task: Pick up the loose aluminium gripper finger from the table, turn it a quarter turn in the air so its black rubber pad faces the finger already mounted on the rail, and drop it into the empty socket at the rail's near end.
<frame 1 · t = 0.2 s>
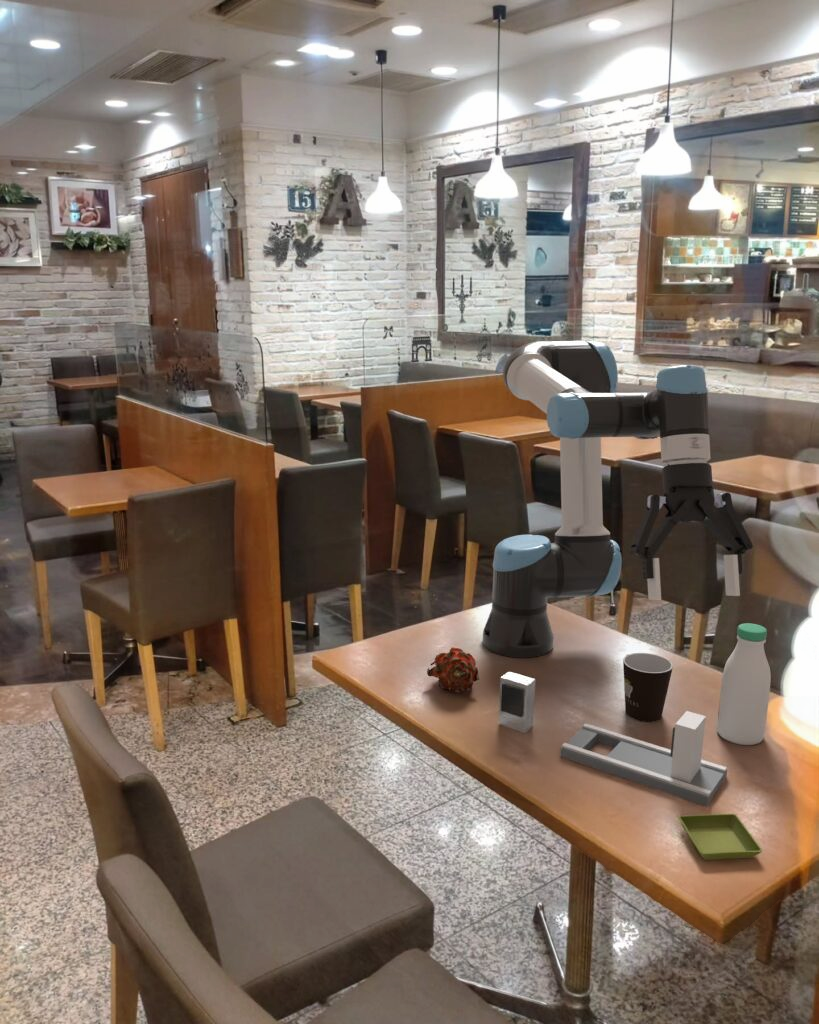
hand: (694, 598, 138), 28 cm above the table, tool tilted 20°, fingers open, 13 cm apart
coffee mug: (642, 710, 160), on the table
green square tray: (717, 847, 122), on the table
dragon fruit: (452, 688, 168), on the table
milk bottle: (739, 736, 152), on the table
rail: (641, 766, 141), on the table
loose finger: (515, 725, 154), on the table
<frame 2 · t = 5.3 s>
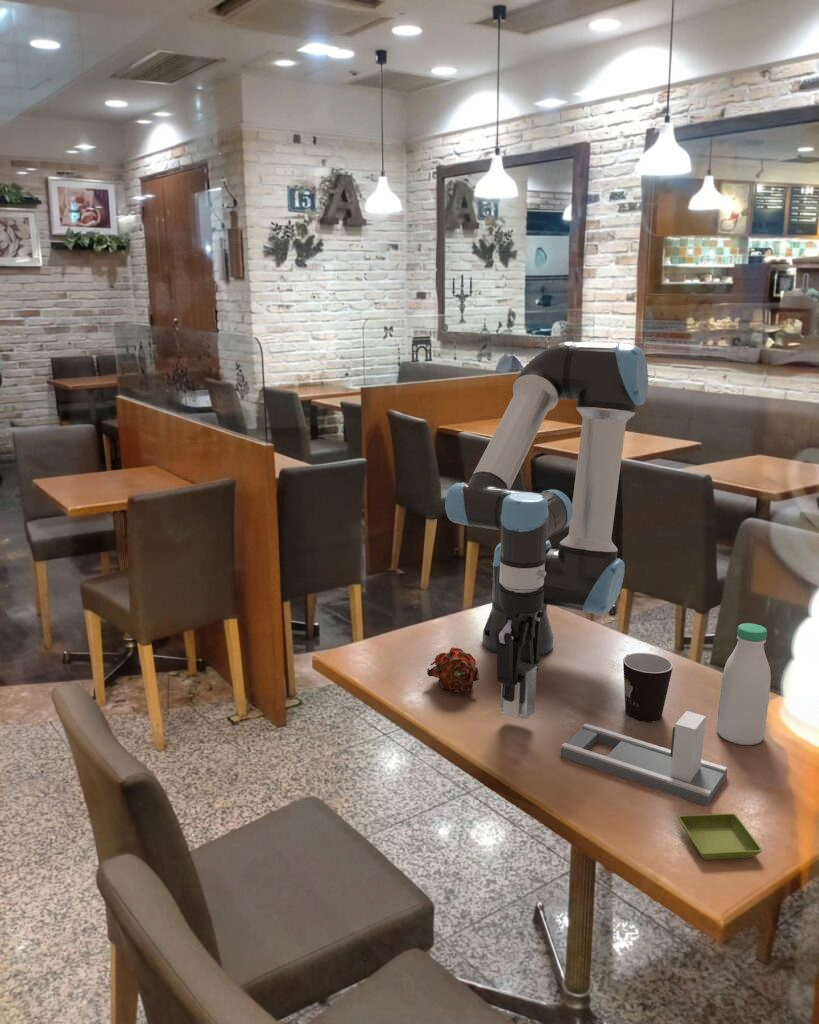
hand: (516, 710, 154), 3 cm above the table, tool pointing down, fingers closed on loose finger, 3 cm apart
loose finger: (517, 711, 154), point 2 cm above the table, touching gripper
everything else where it was.
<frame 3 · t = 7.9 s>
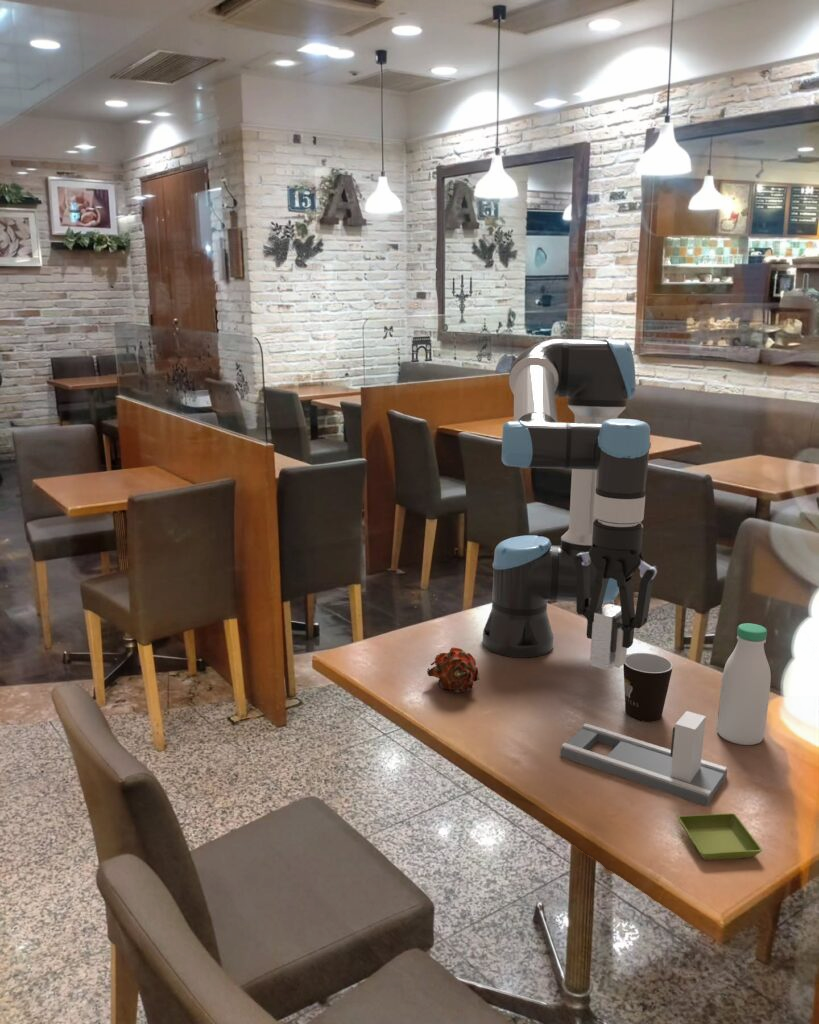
hand: (607, 661, 141), 17 cm above the table, tool pointing down, fingers closed on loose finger, 3 cm apart
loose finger: (606, 662, 141), point 16 cm above the table, touching gripper
everything else where it was.
when the fingers open (3 cm above the table, at t = 10.9 s): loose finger drops 3 cm, resting in rail.
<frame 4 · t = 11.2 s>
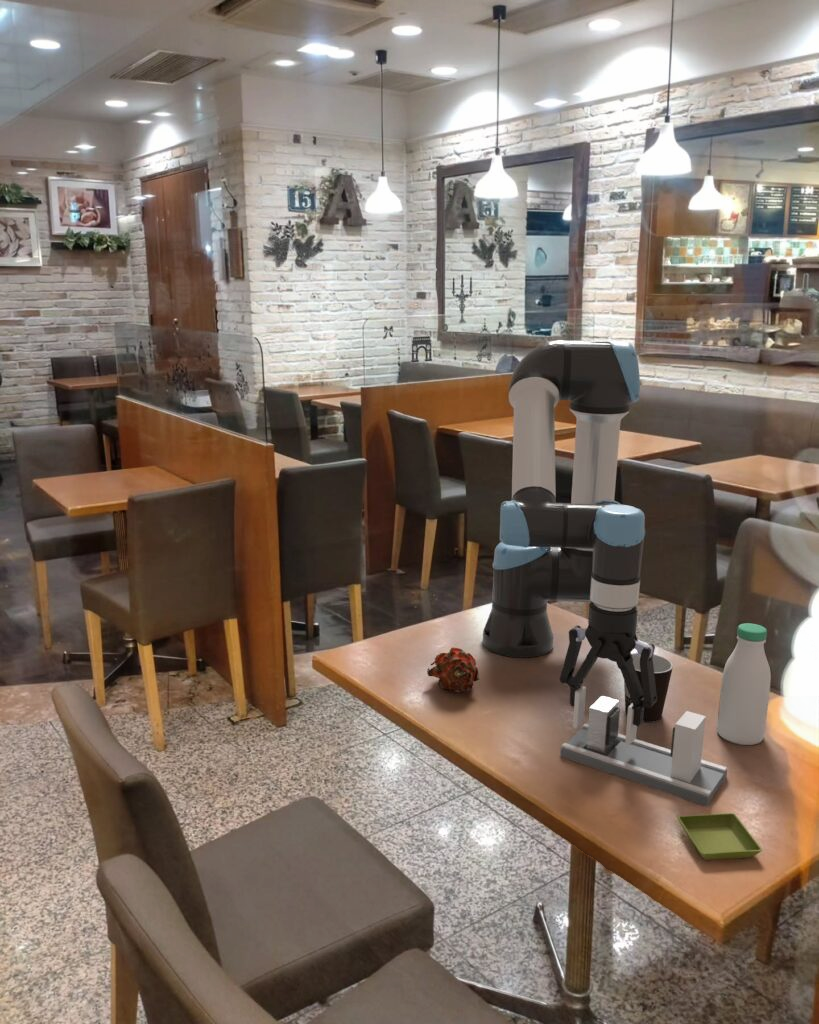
hand: (603, 732, 144), 4 cm above the table, tool pointing down, fingers open, 8 cm apart
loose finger: (600, 753, 145), resting in rail
everything else where it was.
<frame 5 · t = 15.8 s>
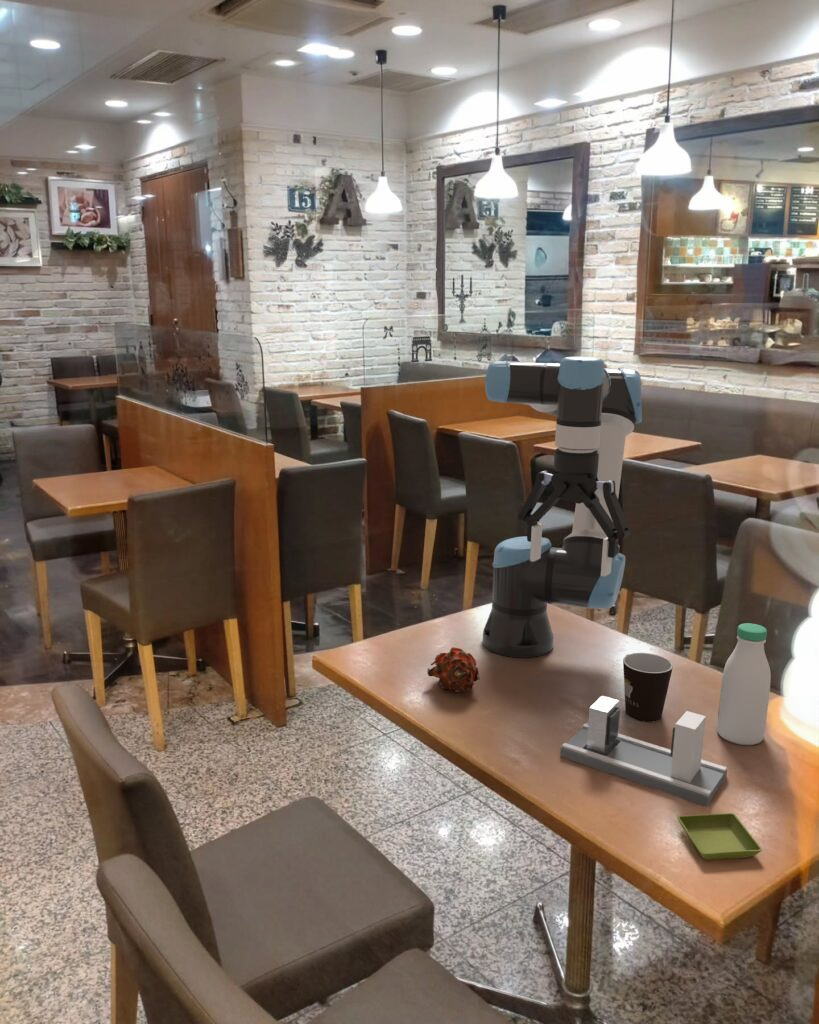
hand: (569, 566, 155), 27 cm above the table, tool pointing down, fingers open, 13 cm apart
nothing on the table moved.
at the end: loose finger 0.0 cm from the target spot on the rail, point 0.0 cm above the rail's base; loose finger tilted 0°; the gripper is holding nothing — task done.
